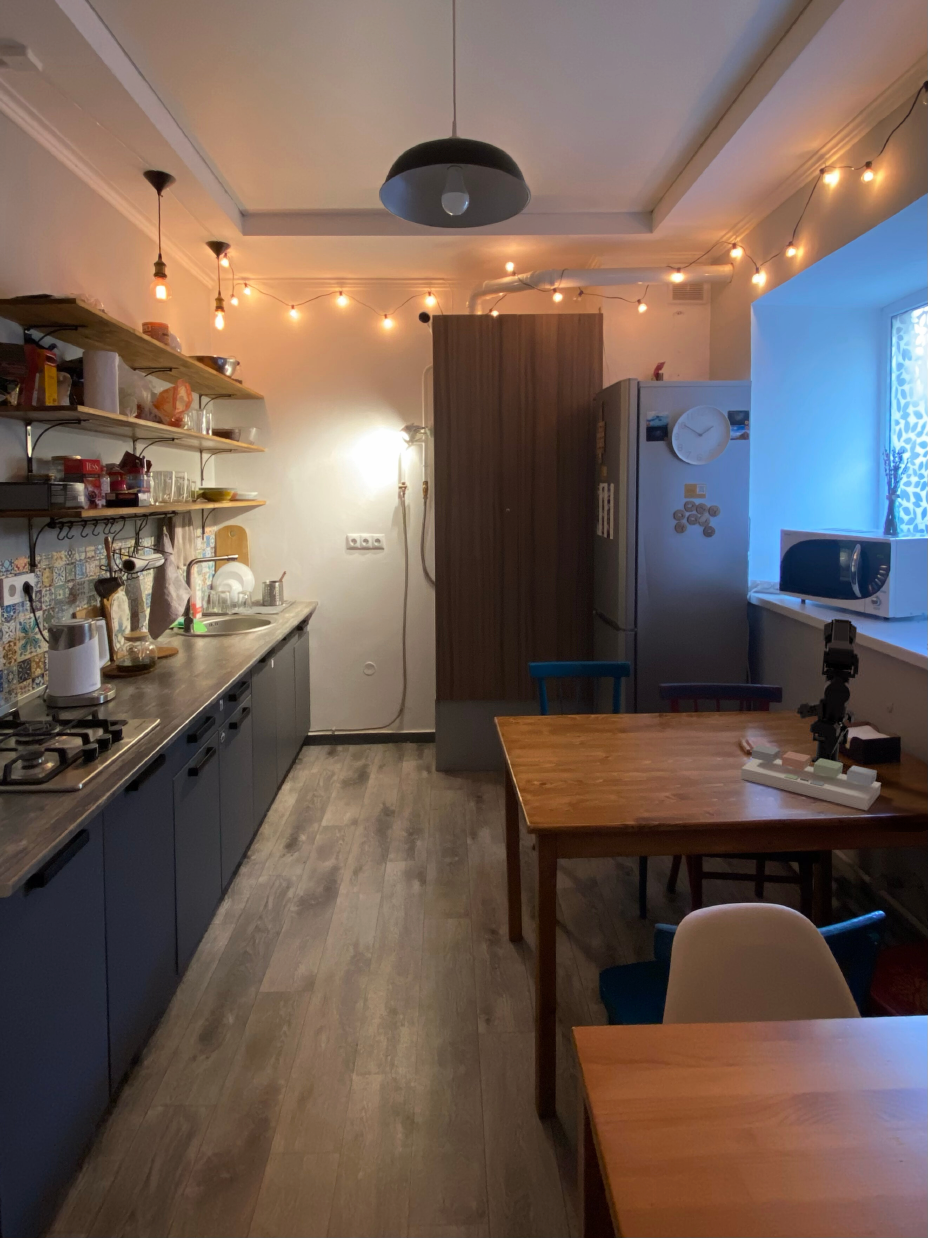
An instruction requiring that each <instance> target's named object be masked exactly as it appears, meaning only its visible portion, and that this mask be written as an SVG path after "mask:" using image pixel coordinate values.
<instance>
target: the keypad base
mask: <svg viewBox="0 0 928 1238" xmlns="http://www.w3.org/2000/svg"><path fill="white" fill-rule="evenodd" d="M813 770H814V766H810V765H809V766H808V767H807V768H805V769H804V770H801V769H796V768H792V767H788V766H784V765H782V759H779V758H778V759H777V760H776V761H774V762H773V763H771V762H767V761H762V760H758V759H754V758H752V760H750V761H749V762H748V763H747V764H745V765H744V766H742V767H741V771H740V779H741V780H745V781H748V782H753V783H757V784H761V785H765V786H769V787H772V788H776V789H781V790H786V791H789V792H792V793H796V794H799V795H804V796H809V797H812V798H815V799H819V800H824V801H828V802H832V803H836V804H839V805H844V806H847V807H851V808H856V809H859V810H864V811H868V810H869V808H870V807H871V805H872V804H873V803H874V802H875V801H876V799H877V798H878V797H879V796H880V795H881V785H882V782H878V781H876V780H875V781H874V783H873V784H872V785H871V786H869V785H865V784H860V783H856V782H852V781H848V780H846V779H847V774H845V773H841V774H840V775H839V776H838V777H837V778H835V777H830V776H826V775H822V774H818V773H813Z"/></svg>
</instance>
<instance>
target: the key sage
mask: <svg viewBox="0 0 928 1238" xmlns="http://www.w3.org/2000/svg"><path fill="white" fill-rule="evenodd" d="M813 763H814V764H813V767H814V770H813V773H818V774H822V775H826V776H830V777H835V778H837V777H838V776H839V775H840V774H843V769H844V768H843V766H844V763H842V762H835V761H831V760H826V759H822V758H820V759H819V760H818V761H817V762H813Z"/></svg>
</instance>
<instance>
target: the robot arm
mask: <svg viewBox="0 0 928 1238" xmlns="http://www.w3.org/2000/svg"><path fill="white" fill-rule="evenodd" d="M857 628H858V627H857V626H855V624H852V620H850V619H843V618H842V619H841V618H834V619H831V621H829V622H827V623H825V624H824V625H823V630H822V642H824V650H823V654H822V655H823V656H822V667H821V675H822V676H824V685H823V694H822V695H823V696H822V698H820V699H819V701H812V702H805V703H803V702H802V703H800V704H799V705H798V706H797V711H796V713H797V715H799V716H800V719H807V718H812V717H813V718H814V717H816V720H814V721H813V722H812V723H811V724H809V725H810V728H809V732H810V733H811V734H812V742H816V751H815V756H814V757H813V758H811V762H813V763H815V762H817V761H818V760H819V759H820V758H822V759H826V760H831V761H835V762H840V763H842V762H841V761H842V759H841V758H838V757H839V750H840V749H839V748H840V745H842V746H845V745H847V744H848V740H849V739H848V738H849V733H850V732H849V731H850V730H849V729H848V728H849V727H848V726H847V724H845V721H848V724H853V723H854V722H855V716H856V715H855V713H854V712H853V711H852V710H850V709H848V705H849V704H850V700H851V699H850V697H851V689H850V681H851V679H856V675H859V667H860V657H859V656H858V653H855V646H854V645H853V644H856V640H857V633H858V632H857V631H858V629H857Z"/></svg>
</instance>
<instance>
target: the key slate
mask: <svg viewBox="0 0 928 1238" xmlns="http://www.w3.org/2000/svg"><path fill="white" fill-rule="evenodd" d="M780 753H781V749H780V748H776V747H772V746H766V745H763V744H758V745H757V746H755V747H754V748H752V749H751V759H758V760H762V761H767V762H771V763H773V762H774V761H776V760H777V759H779V758H780Z"/></svg>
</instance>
